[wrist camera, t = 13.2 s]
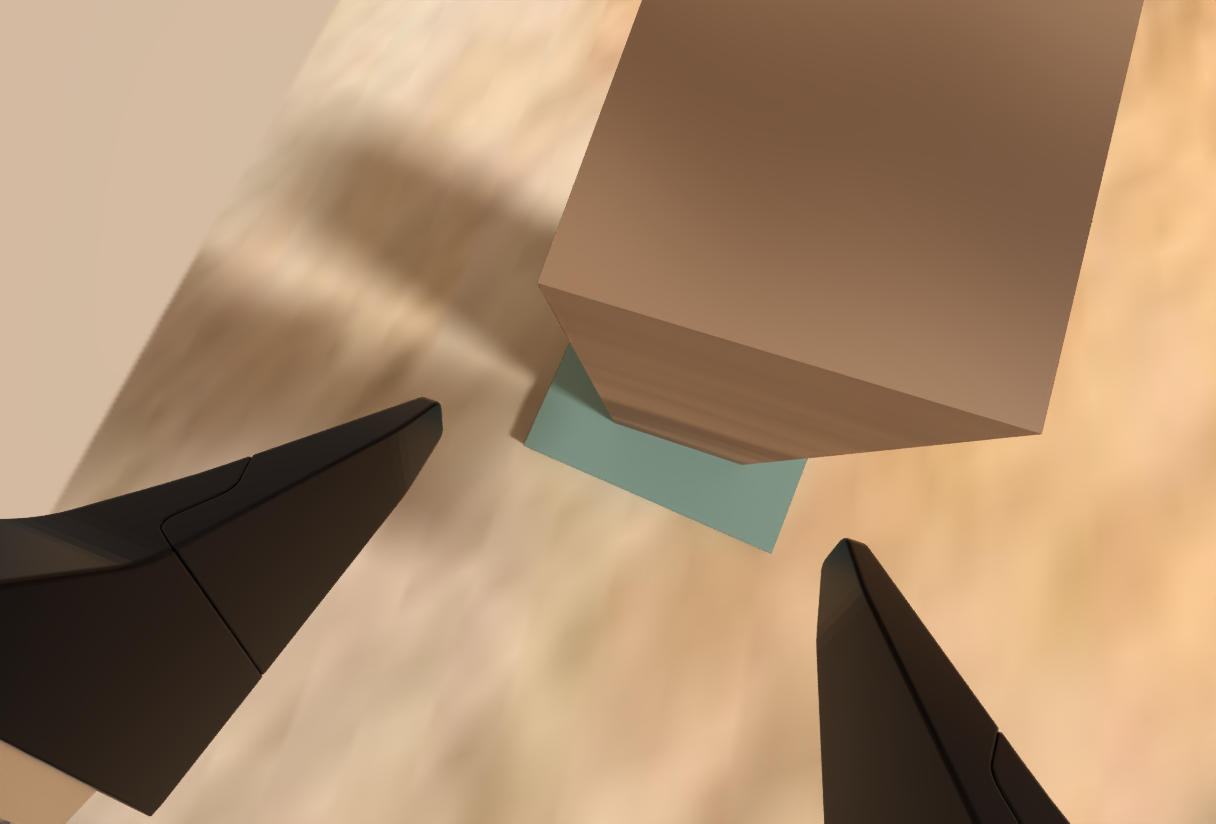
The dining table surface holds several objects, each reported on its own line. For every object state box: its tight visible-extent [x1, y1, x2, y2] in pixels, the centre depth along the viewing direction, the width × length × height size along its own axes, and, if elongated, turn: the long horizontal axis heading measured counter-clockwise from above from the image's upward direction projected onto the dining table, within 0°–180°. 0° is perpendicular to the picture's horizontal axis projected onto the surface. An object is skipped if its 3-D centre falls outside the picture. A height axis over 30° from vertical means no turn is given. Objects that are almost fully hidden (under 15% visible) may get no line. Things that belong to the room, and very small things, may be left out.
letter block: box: [537, 0, 1144, 465], centre depth 11 cm, size 5×5×13 cm
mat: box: [524, 343, 808, 553], centre depth 18 cm, size 10×10×1 cm
